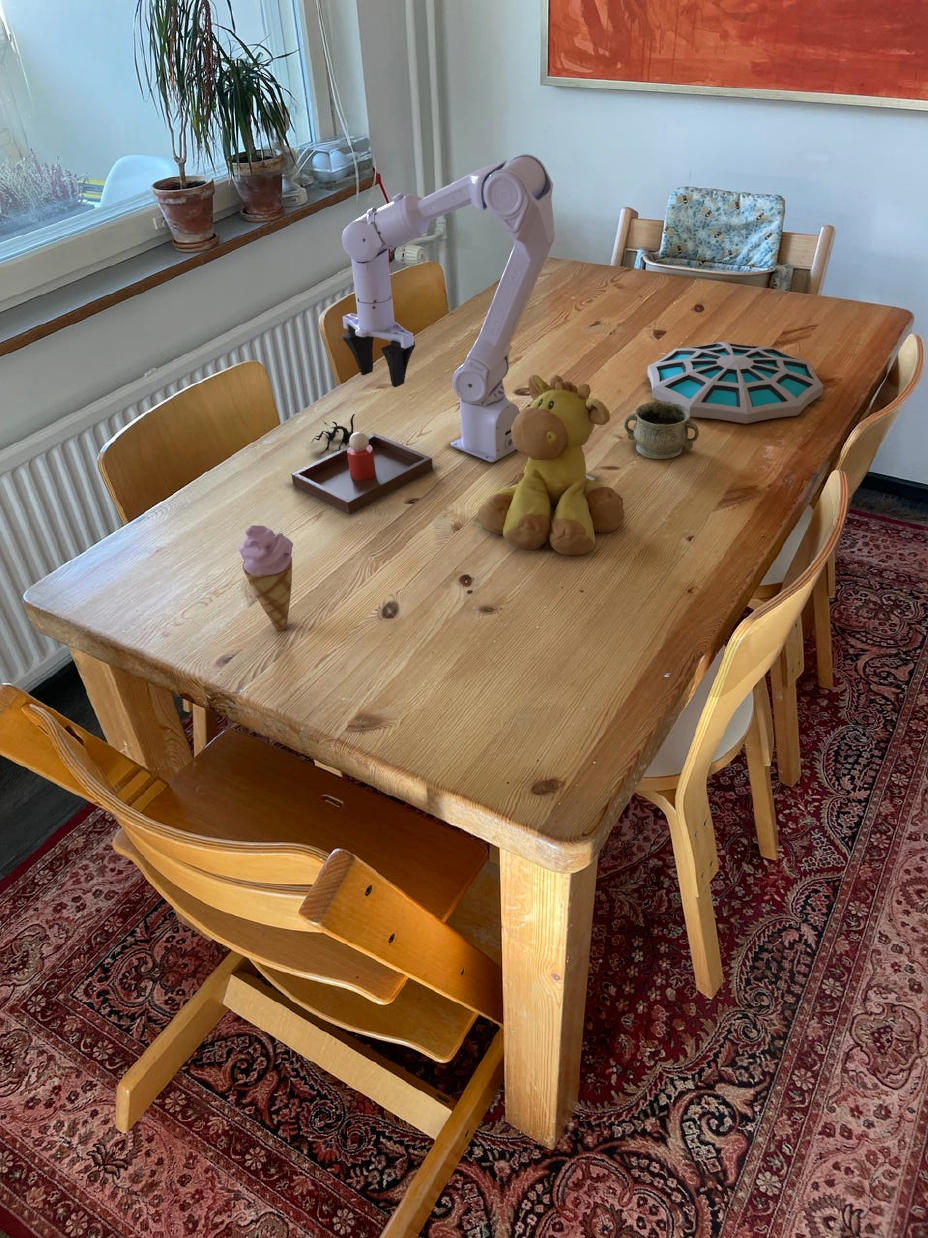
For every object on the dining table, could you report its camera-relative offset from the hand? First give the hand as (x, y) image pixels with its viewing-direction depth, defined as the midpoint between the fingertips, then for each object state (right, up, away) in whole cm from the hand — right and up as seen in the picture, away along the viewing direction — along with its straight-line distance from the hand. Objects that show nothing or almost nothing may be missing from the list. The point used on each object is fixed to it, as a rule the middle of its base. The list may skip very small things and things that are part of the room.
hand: (382, 378), depth 155 cm
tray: (-2, -17, -7) cm, 19 cm away
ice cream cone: (-10, -41, -36) cm, 55 cm away
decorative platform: (+62, +2, +13) cm, 63 cm away
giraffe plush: (+27, -25, -18) cm, 41 cm away
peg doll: (-2, -17, -7) cm, 18 cm away
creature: (-8, -11, +2) cm, 14 cm away
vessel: (+45, -12, -3) cm, 47 cm away
